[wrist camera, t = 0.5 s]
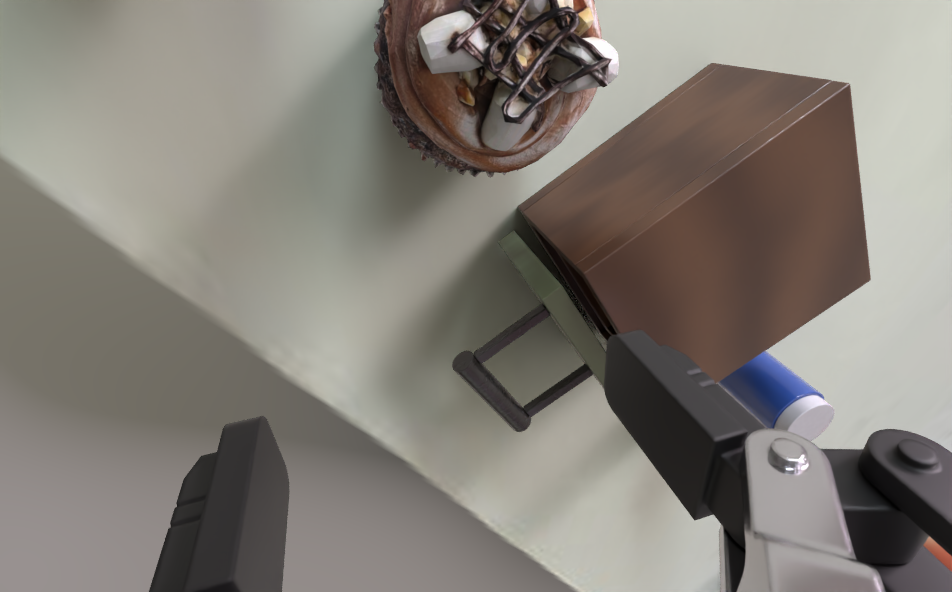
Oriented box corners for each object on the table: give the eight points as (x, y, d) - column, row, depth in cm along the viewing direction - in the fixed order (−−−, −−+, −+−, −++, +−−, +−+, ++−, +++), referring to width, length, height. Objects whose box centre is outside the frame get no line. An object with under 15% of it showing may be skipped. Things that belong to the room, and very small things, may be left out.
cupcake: (320, 64, 22) (321, 98, 14) (454, -126, 20) (546, -216, 12) (466, 187, 27) (530, 264, 19) (586, 44, 25) (716, 63, 17)
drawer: (508, 401, 36) (544, 475, 30) (414, 302, 29) (438, 374, 24) (723, 250, 34) (804, 300, 28) (675, 110, 28) (767, 138, 22)
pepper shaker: (699, 339, 40) (787, 416, 32) (746, 321, 40) (843, 393, 33) (697, 377, 42) (778, 457, 35) (741, 360, 43) (831, 434, 35)
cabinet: (598, 333, 36) (669, 415, 29) (516, 206, 29) (583, 273, 22) (756, 223, 35) (871, 280, 28) (711, 62, 28) (851, 82, 20)
